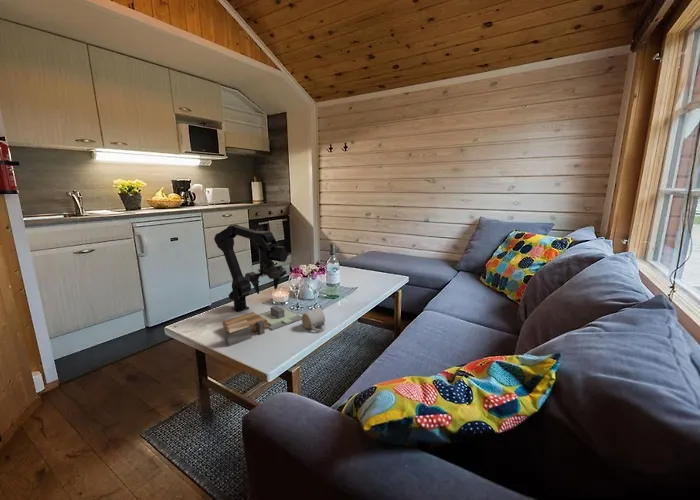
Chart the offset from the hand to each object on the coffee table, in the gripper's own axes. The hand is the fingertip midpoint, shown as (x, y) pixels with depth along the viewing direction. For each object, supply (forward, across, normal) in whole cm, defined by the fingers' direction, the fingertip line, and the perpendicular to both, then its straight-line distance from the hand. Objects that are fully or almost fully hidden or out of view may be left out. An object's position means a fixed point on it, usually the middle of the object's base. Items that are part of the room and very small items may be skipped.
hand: (266, 291), depth 150 cm
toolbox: (+12, -17, -9) cm, 23 cm away
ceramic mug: (+11, +8, -27) cm, 30 cm away
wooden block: (+6, -22, -15) cm, 27 cm away
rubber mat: (+12, +1, -7) cm, 14 cm away
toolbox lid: (+11, +1, -9) cm, 14 cm away
